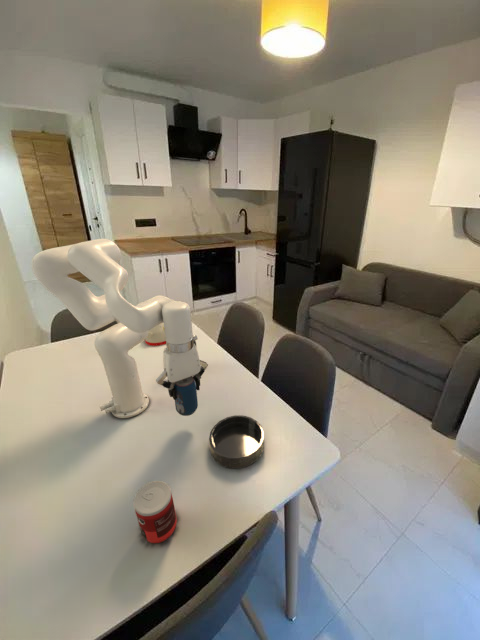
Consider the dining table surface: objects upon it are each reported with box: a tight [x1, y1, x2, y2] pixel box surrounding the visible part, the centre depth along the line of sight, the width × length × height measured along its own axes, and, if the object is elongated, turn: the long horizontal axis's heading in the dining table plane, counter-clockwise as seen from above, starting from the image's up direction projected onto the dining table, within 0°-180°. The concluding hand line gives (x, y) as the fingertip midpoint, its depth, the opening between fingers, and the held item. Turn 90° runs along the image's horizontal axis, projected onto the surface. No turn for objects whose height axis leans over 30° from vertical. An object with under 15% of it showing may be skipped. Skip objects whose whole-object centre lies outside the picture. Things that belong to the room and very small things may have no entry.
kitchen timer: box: [144, 323, 166, 347], centre depth 148 cm, size 14×14×15 cm
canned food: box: [133, 480, 178, 544], centre depth 66 cm, size 8×8×11 cm
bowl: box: [208, 414, 265, 469], centre depth 88 cm, size 16×16×4 cm
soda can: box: [174, 376, 199, 417], centre depth 92 cm, size 7×7×12 cm
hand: (185, 392), depth 91 cm, fingers closed on soda can, 7 cm apart
